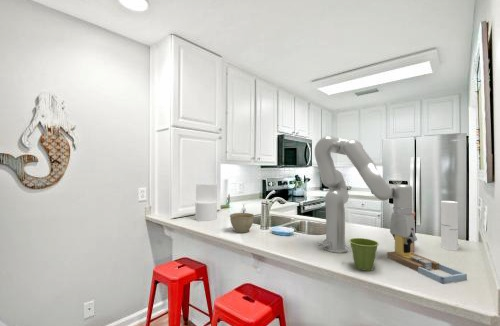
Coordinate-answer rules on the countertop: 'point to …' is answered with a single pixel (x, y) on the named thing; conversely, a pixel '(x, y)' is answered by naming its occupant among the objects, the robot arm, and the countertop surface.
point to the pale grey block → (416, 259)
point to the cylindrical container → (449, 225)
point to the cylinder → (206, 202)
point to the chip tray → (453, 277)
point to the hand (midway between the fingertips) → (402, 250)
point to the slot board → (410, 263)
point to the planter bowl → (241, 221)
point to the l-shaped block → (401, 247)
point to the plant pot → (363, 252)
